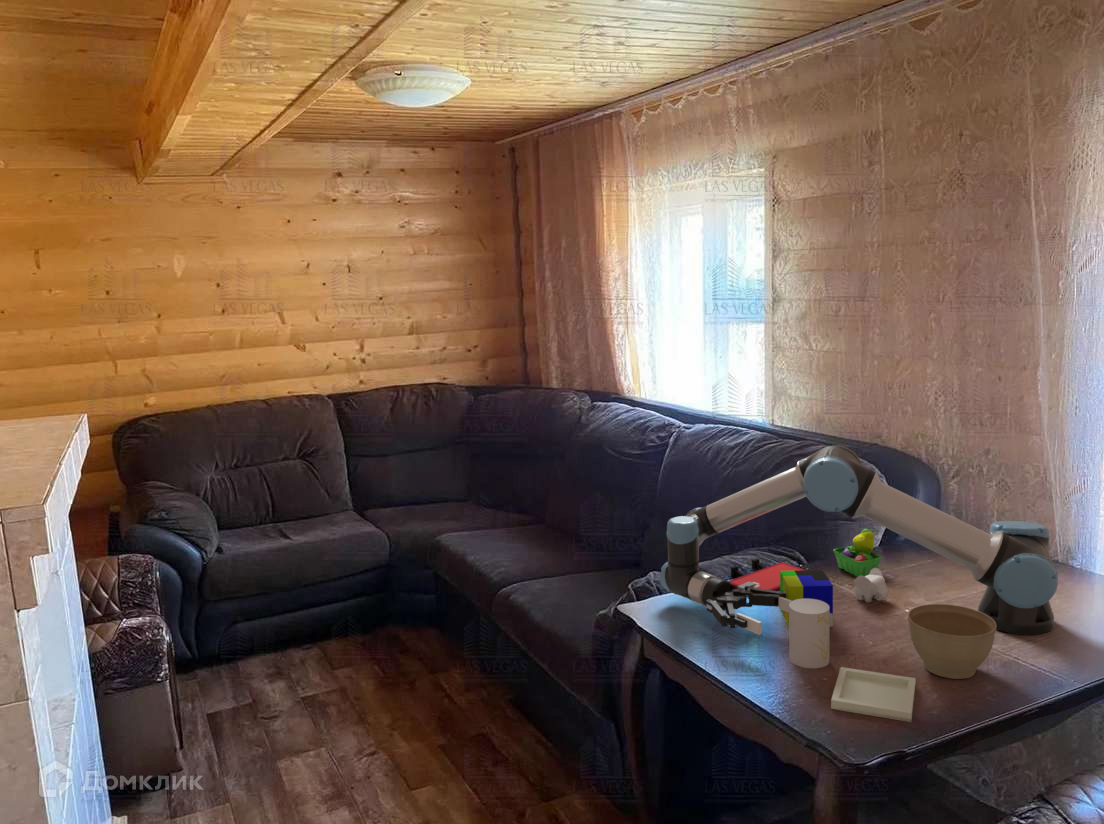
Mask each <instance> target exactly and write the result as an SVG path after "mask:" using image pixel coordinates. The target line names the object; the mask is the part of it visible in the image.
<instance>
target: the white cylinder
mask: <svg viewBox="0 0 1104 824" xmlns="http://www.w3.org/2000/svg"><path fill="white" fill-rule="evenodd" d="M830 629H831V628H830V607H829V605H828V604H827V603H825V602H823V601H820V600H816V599H797V600H794V601H792V602H790V604H789V628H788V634H789V635H788V637H789V638H788V639H789V640H788V642H789V644H788V646H789V651H788V652H789V653H788V654H789V656H788V657H789V661H790V662H791V663H792V664H793V665H795V666H798V667H801V668H804V669H821V668H825V667H827V666H828V665H829V664H830Z"/></svg>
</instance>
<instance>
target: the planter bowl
mask: <svg viewBox="0 0 1104 824" xmlns="http://www.w3.org/2000/svg"><path fill="white" fill-rule="evenodd" d="M907 620H908V622H909V623H908V624H909V625H908V627H909V628H908V629H909V634H910V640H911V641H912V644H913V646H914V649H915V651H916V652H917V654H918V656H919V657H920V658H921V660H922V661H923V666H924V668H925V669H926V670H927V671H928V672H930V673H932V674H934V675H936V676H939V677H942V678H947V679H953V680H960V679H961V680H962V679H963V680H964V679H968V678H969V679H970V678H971V677H973V676H974V675H975V674H976V672H977V669H978V668H980V666H981V665H982V664H983V663H984V662H985V660H986V659H987V658H988V656H989V655H990V653H991V651H992V648H993V645H994V640H995V634H996V632H997V629H996V622H995V621H994V620H993V619H992V618H991V617H989V616H988V615H986V614H984V613H982V612H980V611H978V609H977V610H976V609H973V608H970V607H966V606H962V605H956V604H949V603H946V604H945V603H932V604H931V603H930V604H923V605H918V606H917V605H916V606H915V607H913V608H911V609H910V610H909V611H908V613H907Z"/></svg>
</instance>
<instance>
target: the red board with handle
mask: <svg viewBox="0 0 1104 824" xmlns="http://www.w3.org/2000/svg"><path fill="white" fill-rule="evenodd" d="M751 569H752V570H755V571H753V572H750V573H747V574H744V572H742V571H740V570H739V566H738V565H734V566H732V567H731V566H730V577H732V579H730V580H728V581H729V582H730V583H731V584H732V585H733V587H734V588H735V589H736V590H742V591H744V590H745V586H750V587H753V588H758V589H765V590H773V591H780V571H800V570H805V569H804V568H801V567H798V566H795V565H792V564H788V563H787V562H783V561H781V562H779V563H775V564H772V565H770V566H765V565H763V564H762V563H760V559H759V558H755V559H752V560H751ZM757 569H759V570H757ZM735 577H736V578H735Z"/></svg>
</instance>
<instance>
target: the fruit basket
mask: <svg viewBox="0 0 1104 824" xmlns="http://www.w3.org/2000/svg"><path fill="white" fill-rule="evenodd" d="M875 539H876V537H875V534H874V533H873V530H871V529H868V528H864V529H862V530H861V532H860V534H857V535H856V536H854V538H853V539H852V543H853V545H850V546H849V545H848V546H845V547H843V546H842V547H838V548H833V554H834V555H835V558H836V563H837V566H838V568H839V569H841V570H843V569H844V570H843V571H845V572H847V573H849V574H851V575H852V574H853V576H855V577H856V578H857V577H858V576H860V575H862V576H864V577H865V576H867V575H869V574H870V571H871V570H872V569H873V568H878V567H879V564H880V562H881V560H882V556H880V555H878V554H876V553H874V552H872V551H873V549H874V548H875ZM878 569H879V568H878Z"/></svg>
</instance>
